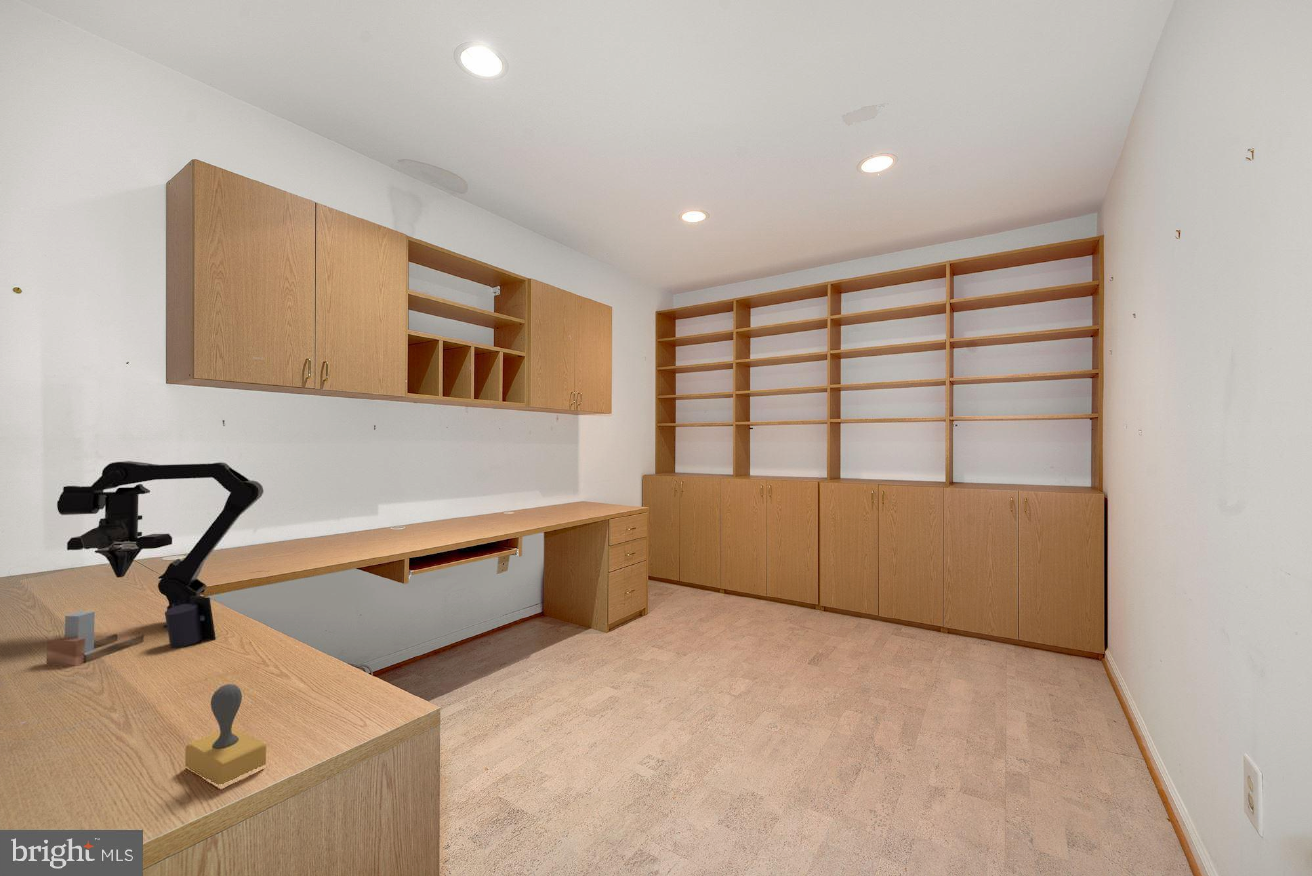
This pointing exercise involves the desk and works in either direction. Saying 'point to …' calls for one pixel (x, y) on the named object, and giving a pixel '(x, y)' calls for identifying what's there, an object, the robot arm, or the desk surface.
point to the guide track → (83, 649)
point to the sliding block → (81, 628)
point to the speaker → (190, 622)
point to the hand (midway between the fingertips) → (120, 577)
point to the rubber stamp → (225, 743)
